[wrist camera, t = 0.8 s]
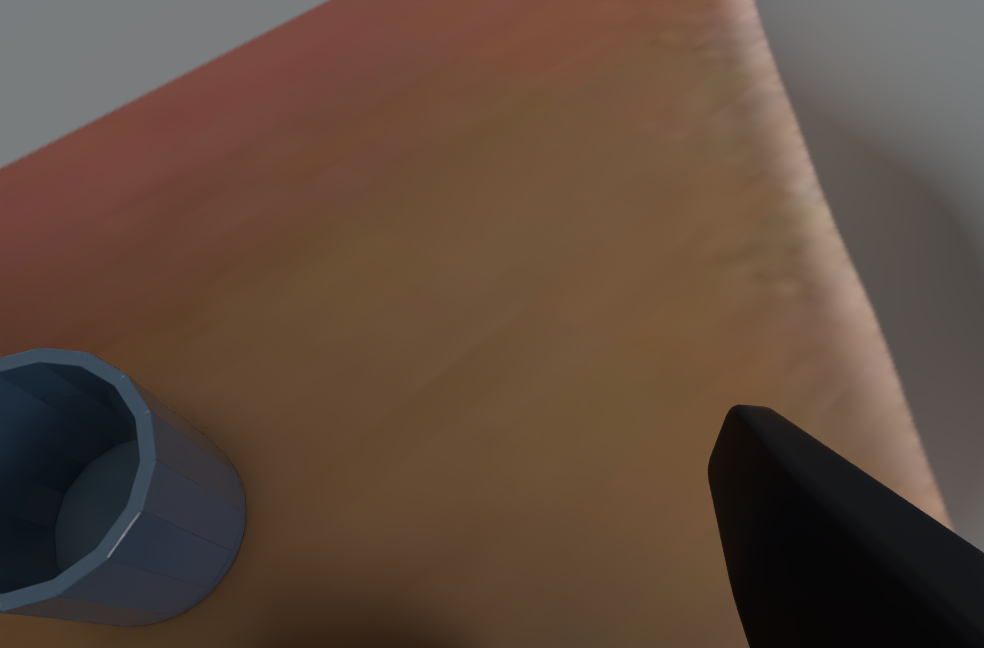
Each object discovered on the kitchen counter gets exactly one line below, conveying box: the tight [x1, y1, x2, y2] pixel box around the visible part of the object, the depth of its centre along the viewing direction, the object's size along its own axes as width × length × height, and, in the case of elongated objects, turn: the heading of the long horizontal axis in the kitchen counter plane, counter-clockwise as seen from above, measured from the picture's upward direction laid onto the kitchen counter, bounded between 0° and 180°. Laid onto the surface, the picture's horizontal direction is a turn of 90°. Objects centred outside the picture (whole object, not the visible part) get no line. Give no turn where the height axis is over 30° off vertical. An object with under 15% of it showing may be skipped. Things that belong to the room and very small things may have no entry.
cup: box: [0, 348, 246, 627], centre depth 22 cm, size 6×6×8 cm
